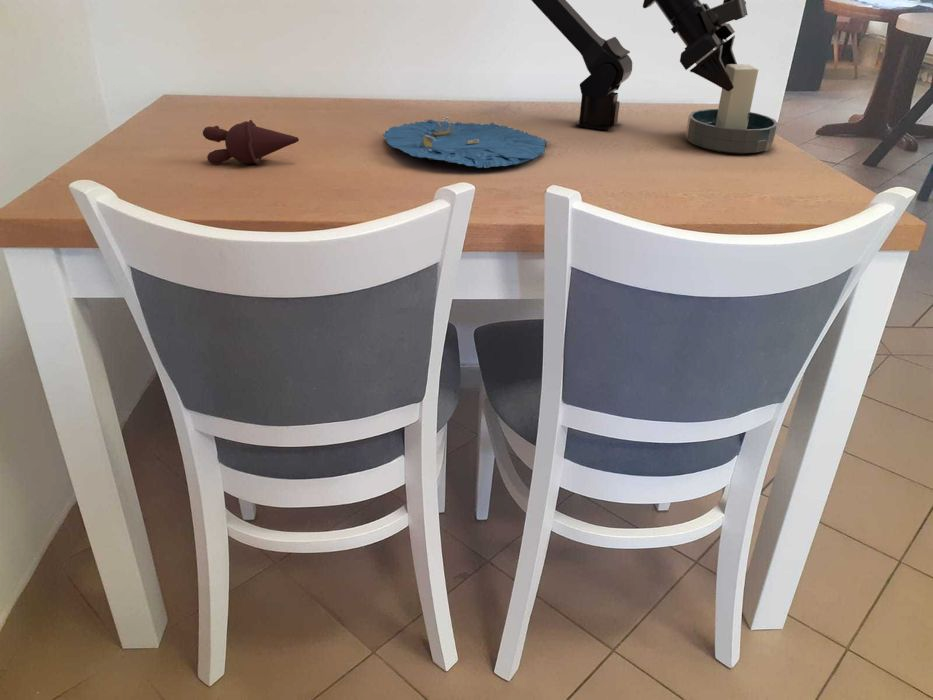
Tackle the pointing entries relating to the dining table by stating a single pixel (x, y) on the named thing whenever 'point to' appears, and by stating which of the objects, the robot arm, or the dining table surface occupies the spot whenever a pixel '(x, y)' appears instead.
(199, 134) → the dining table surface
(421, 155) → the decorative plate
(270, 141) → the icecream
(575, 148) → the dining table surface
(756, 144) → the bowl
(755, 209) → the dining table surface
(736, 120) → the box
